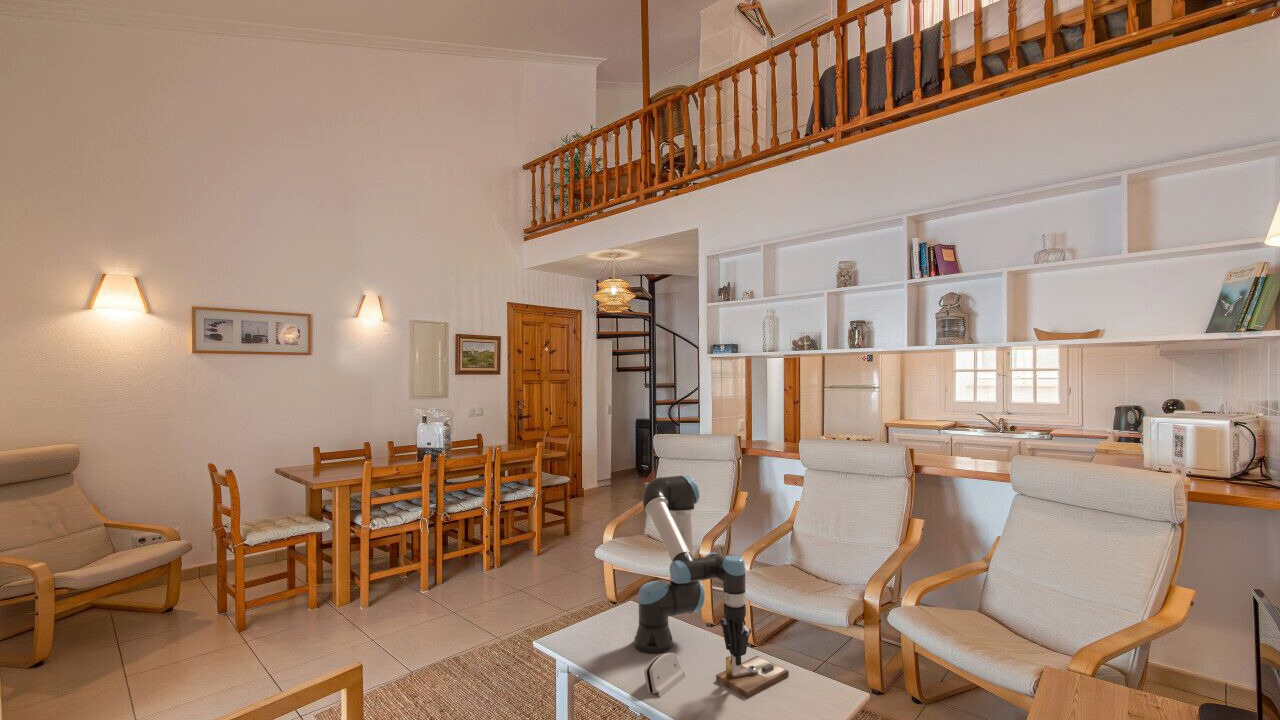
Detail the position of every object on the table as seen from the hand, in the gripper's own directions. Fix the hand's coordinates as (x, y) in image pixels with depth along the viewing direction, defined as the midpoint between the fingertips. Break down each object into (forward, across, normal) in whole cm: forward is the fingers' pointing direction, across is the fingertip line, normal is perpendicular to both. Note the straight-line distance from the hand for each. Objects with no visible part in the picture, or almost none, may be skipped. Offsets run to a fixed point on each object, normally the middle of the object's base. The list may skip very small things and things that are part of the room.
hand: (736, 673), depth 196 cm
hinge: (+5, -16, -19) cm, 25 cm away
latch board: (+5, -1, +9) cm, 10 cm away
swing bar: (+2, -2, +4) cm, 5 cm away
